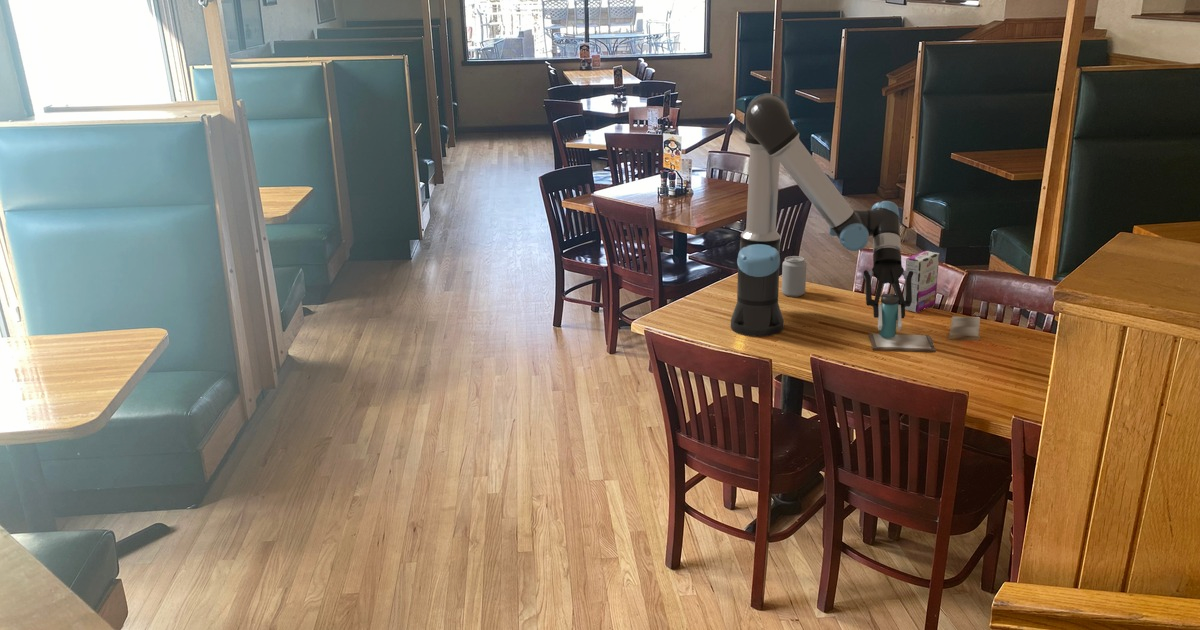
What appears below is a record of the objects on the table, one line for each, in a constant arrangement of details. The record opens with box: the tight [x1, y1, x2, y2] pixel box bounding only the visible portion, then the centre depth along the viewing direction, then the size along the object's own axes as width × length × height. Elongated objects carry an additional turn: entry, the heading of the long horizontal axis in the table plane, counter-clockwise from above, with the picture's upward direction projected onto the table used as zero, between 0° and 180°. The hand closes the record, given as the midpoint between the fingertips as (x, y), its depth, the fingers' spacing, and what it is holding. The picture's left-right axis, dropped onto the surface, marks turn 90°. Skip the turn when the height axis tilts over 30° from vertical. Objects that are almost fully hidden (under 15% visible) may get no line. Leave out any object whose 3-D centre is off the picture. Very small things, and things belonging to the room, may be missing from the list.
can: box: [781, 255, 808, 298], centre depth 278 cm, size 8×8×12 cm
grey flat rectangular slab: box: [868, 333, 937, 353], centre depth 237 cm, size 16×11×2 cm
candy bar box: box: [903, 250, 940, 314], centre depth 262 cm, size 11×5×16 cm, turn 131°
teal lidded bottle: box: [878, 293, 899, 337], centre depth 238 cm, size 5×5×11 cm
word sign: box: [947, 316, 981, 342], centre depth 238 cm, size 8×2×6 cm, turn 79°
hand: (889, 328), depth 236 cm, fingers closed on teal lidded bottle, 4 cm apart
